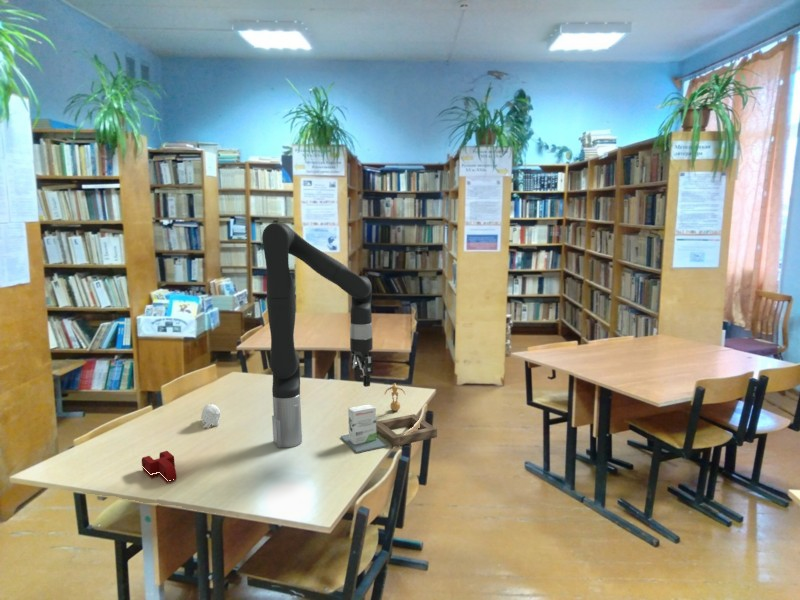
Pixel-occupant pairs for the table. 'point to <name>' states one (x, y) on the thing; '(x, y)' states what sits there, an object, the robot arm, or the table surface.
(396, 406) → the figurine
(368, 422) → the ink box
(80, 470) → the table surface
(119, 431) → the table surface
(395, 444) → the holder
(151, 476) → the dark red block
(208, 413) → the white domed ornament
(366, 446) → the mat
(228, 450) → the table surface
